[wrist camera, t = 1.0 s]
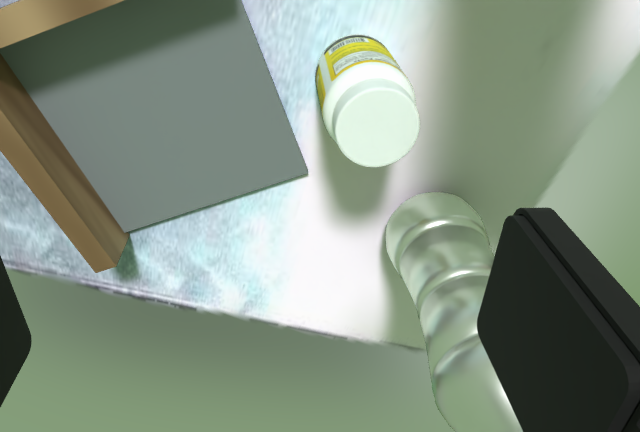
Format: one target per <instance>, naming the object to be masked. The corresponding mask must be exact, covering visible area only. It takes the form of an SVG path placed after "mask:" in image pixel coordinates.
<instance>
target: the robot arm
mask: <svg viewBox="0 0 640 432" xmlns="http://www.w3.org/2000/svg"><path fill="white" fill-rule="evenodd" d="M477 331H478V335H479V338H480V340H481V343H482V345H483V347H484V349H485V351H486V353H487V355H488V358H489V360H490V362H491V364H492V366H493V368H494V370H495V373H496V375H497V377H498V379H499V381H500V383H501V385H502V388H503V390H504V392H505V394H506V396H507V398H508V400H509V403H510V405H511V407H512V409H513V411H514V413H515V415H516V418H517V420H518V422H519V424H520V426H521V428H522V430H523V432H640V307H639V305H638V304H637V303H636V302H635V301H634V300H633V299H632V298H631V296H630V295H629V294H628V293H627V292H626V291H625V290H624V289H623V287H622V286H621V285H620V284H619V283H618V282H617V281H616V280H615V278H613V276H612V275H611V274H610V273H609V272H608V271H607V270H606V268H605V267H604V266H603V265H602V264H601V263H600V262H599V261H598V259H597V258H596V257H595V256H594V255H593V254H592V253H591V252H590V250H589V249H588V248H587V247H586V246H585V245H584V244H583V243H582V241H581V240H580V239H579V238H578V237H577V236H576V235H575V234H574V232H573V231H572V230H571V229H570V228H569V227H568V226H567V225H566V223H565V222H564V221H563V220H562V219H561V218H560V217H559V216H558V215H557V213H556V212H555V211H554V210H552V209H551V208H519V209H517V210H516V212H515V213H514V215H513V216H508V217H507V218H506V220H505V222H504V225H503V229H502V232H501V236H500V239H499V243H498V247H497V250H496V254H495V257H494V261H493V264H492V268H491V272H490V275H489V279H488V282H487V286H486V289H485V293H484V297H483V300H482V304H481V307H480V311H479V314H478V318H477ZM30 348H31V334H30V331H29V328H28V326H27V323H26V320H25V318H24V316H23V313H22V310H21V308H20V305H19V302H18V300H17V297H16V295H15V292H14V290H13V287H12V284H11V282H10V279H9V277H8V274H7V272H6V269H5V266H4V264H3V261H2V259H1V256H0V407H1V405H2V403H3V401H4V399H5V397H6V395H7V394H8V392H9V390H10V388H11V386H12V384H13V382H14V380H15V379H16V377H17V374H18V373H19V371H20V369H21V367H22V365H23V363H24V362H25V360H26V358H27V356H28V354H29V351H30Z"/></svg>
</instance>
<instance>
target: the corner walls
mask: <svg viewBox="0 0 640 432" xmlns="http://www.w3.org/2000/svg"><path fill="white" fill-rule="evenodd" d="M122 1H124V0H19V1H17V2H14V3H12V4H9V5H7V6H4V7H2V8H0V48H3V47H5V46H8V45H10V44H13V43H16V42H18V41H21V40H23V39H26V38H29V37H31V36H34V35H36V34H39V33H41V32H44V31H47V30H49V29H52V28H54V27H57V26H60V25H62V24H65V23H67V22H70V21H72V20H75V19H78V18H80V17H83V16H85V15H88V14H91V13H93V12H96V11H98V10H101V9H104V8H106V7H109V6H111V5H114V4H116V3H119V2H122ZM0 151H1V152H2V153H3V155H4V156H5V157H6V158H7V160H8V161H9V162H10V164H11V165H12V166H13V167H14V169H15V170H16V171H17V173H18V174H19V175H20V176H21V178H22V179H23V180H24V182H25V183H26V184H27V185H28V187H29V188H30V189H31V191H32V192H33V193H34V194H35V196H36V197H37V198H38V200H39V201H40V202H41V203H42V205H43V206H44V207H45V209H46V210H47V211H48V212H49V214H50V215H51V216H52V218H53V219H54V220H55V221H56V223H57V224H58V225H59V227H60V228H61V229H62V230H63V232H64V233H65V234H66V236H67V237H68V238H69V239H70V241H71V242H72V243H73V245H74V246H75V247H76V248H77V250H78V251H79V252H80V253H81V255H82V256H83V257H84V259H85V260H86V261H87V262H88V264H89V265H90V266H91V268H92V269H93V270H94V271H95V273H97V272H100V271H104V270H107V269H110V268H113V267H116V266H117V264H118V261H119V259H120V257H121V254H122V252H123V250H124V247H125V245H126V243H127V240H128V238H129V233H128V232H125V233H124V231H123V230H122V228H121V227H120V225H119V224H118V223H117V221H116V220H115V218H114V217H113V215H112V214H111V212H110V211H109V210H108V208H107V207H106V205H105V204H104V202H103V201H102V199H101V198H100V197H99V195H98V194H97V192H96V191H95V189H94V188H93V186H92V185H91V184H90V182H89V181H88V179H87V178H86V176H85V175H84V173H83V172H82V171H81V169H80V168H79V166H78V165H77V163H76V162H75V160H74V159H73V158H72V156H71V155H70V153H69V152H68V150H67V149H66V147H65V146H64V144H63V143H62V142H61V140H60V139H59V137H58V136H57V134H56V133H55V131H54V130H53V129H52V127H51V126H50V124H49V123H48V121H47V120H46V118H45V117H44V116H43V114H42V113H41V111H40V110H39V108H38V107H37V105H36V104H35V103H34V101H33V100H32V98H31V97H30V95H29V94H28V92H27V91H26V90H25V88H24V87H23V85H22V84H21V82H20V81H19V79H18V78H17V77H16V75H15V74H14V72H13V71H12V69H11V68H10V66H9V65H8V64H7V62H6V61H5V59H4V58H3V56H2V55H1V53H0Z"/></svg>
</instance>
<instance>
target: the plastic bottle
mask: <svg viewBox="0 0 640 432" xmlns="http://www.w3.org/2000/svg"><path fill="white" fill-rule="evenodd" d="M386 247H387V253H388V255H389V258H390V260H391V261H392V263H393V265H394V267H395V269H396V270H397V272H398V273H399V275H400V276H401V277H402V279H403V280H404V282H405V284H406V286H407V288H408V291H409V293H410V295H411V297H412V299H413V301H414V303H415V306H416V308H417V312H418V316H419V319H420V323H421V327H422V331H423V335H424V338H425V342H426V348H427V355H428V361H429V368H430V375H431V382H432V389H433V393H434V397H435V402H436V405H437V407H438V410H439V411H440V413H441V414H442V416H443V417H444V419H445V420H446V421H447V423H448V424H449V425H450V427H451V428H452V429H453V430H454V431H455V432H523V430H522V428H521V426H520V424H519V422H518V420H517V418H516V415H515V413H514V411H513V409H512V407H511V405H510V403H509V400H508V398H507V396H506V394H505V392H504V390H503V388H502V385H501V383H500V381H499V379H498V377H497V375H496V373H495V370H494V368H493V366H492V364H491V362H490V360H489V358H488V355H487V353H486V351H485V349H484V347H483V345H482V343H481V340H480V338H479V335H478V331H477V318H478V314H479V311H480V307H481V304H482V300H483V297H484V293H485V289H486V286H487V282H488V279H489V275H490V272H491V268H492V264H493V261H494V255H493V253H492V250H491V248H490V244H489V240H488V236H487V232H486V230H485V227H484V224H483V222H482V219H481V218H480V216H479V214H478V213H477V212H476V211H475V210H474V209H473V208H472V207H471V206H470V205H469V204H468V203H466V202H465V201H464V200H463V199H461V198H460V197H458V196H456V195H453V194H450V193H445V192H428V193H422V194H419V195H416V196H414V197H412V198H410V199H408V200H406V201H405V202H404V203H402V204H401V205H400V206H399V207H398V208H397V209H396V210H395V212H394V213H393V214H392V216H391V217H390V219H389V221H388V224H387V227H386Z"/></svg>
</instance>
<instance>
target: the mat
mask: <svg viewBox="0 0 640 432" xmlns="http://www.w3.org/2000/svg"><path fill="white" fill-rule="evenodd" d="M0 53H1V55H2V56H3V58H4V59H5V61H6V62H7V64H8V65H9V66H10V68H11V69H12V71H13V72H14V74H15V75H16V77H17V78H18V79H19V81H20V82H21V84H22V85H23V87H24V88H25V90H26V91H27V92H28V94H29V95H30V97H31V98H32V100H33V101H34V103H35V104H36V105H37V107H38V108H39V110H40V111H41V113H42V114H43V116H44V117H45V118H46V120H47V121H48V123H49V124H50V126H51V127H52V129H53V130H54V131H55V133H56V134H57V136H58V137H59V139H60V140H61V142H62V143H63V144H64V146H65V147H66V149H67V150H68V152H69V153H70V155H71V156H72V158H73V159H74V160H75V162H76V163H77V165H78V166H79V168H80V169H81V171H82V172H83V173H84V175H85V176H86V178H87V179H88V181H89V182H90V184H91V185H92V186H93V188H94V189H95V191H96V192H97V194H98V195H99V197H100V198H101V199H102V201H103V202H104V204H105V205H106V207H107V208H108V210H109V211H110V212H111V214H112V215H113V217H114V218H115V220H116V221H117V223H118V224H119V225H120V227H121V228H122V230H123V231H124V233H125V232H129V231H132V230H135V229H138V228H141V227H144V226H147V225H150V224H153V223H156V222H159V221H162V220H165V219H169V218H172V217H175V216H178V215H181V214H184V213H187V212H190V211H193V210H196V209H199V208H202V207H205V206H209V205H212V204H215V203H218V202H221V201H224V200H227V199H230V198H233V197H236V196H239V195H242V194H245V193H248V192H252V191H255V190H258V189H261V188H264V187H267V186H270V185H273V184H276V183H279V182H282V181H285V180H288V179H292V178H295V177H298V176H301V175H304V174H307V173H308V169H307V166H306V164H305V161H304V159H303V156H302V154H301V151H300V149H299V146H298V143H297V141H296V138H295V136H294V133H293V131H292V128H291V126H290V123H289V121H288V118H287V115H286V113H285V110H284V108H283V105H282V103H281V100H280V98H279V95H278V93H277V90H276V87H275V85H274V82H273V80H272V77H271V75H270V72H269V70H268V67H267V65H266V62H265V60H264V57H263V54H262V52H261V49H260V47H259V44H258V42H257V39H256V37H255V34H254V32H253V29H252V26H251V24H250V21H249V19H248V16H247V14H246V11H245V9H244V6H243V4H242V1H241V0H124V1H122V2H119V3H116V4H114V5H111V6H109V7H106V8H104V9H101V10H98V11H96V12H93V13H91V14H88V15H85V16H83V17H80V18H78V19H75V20H72V21H70V22H67V23H65V24H62V25H60V26H57V27H54V28H52V29H49V30H47V31H44V32H41V33H39V34H36V35H34V36H31V37H29V38H26V39H23V40H21V41H18V42H16V43H13V44H10V45H8V46H5V47H3V48H0Z"/></svg>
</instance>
